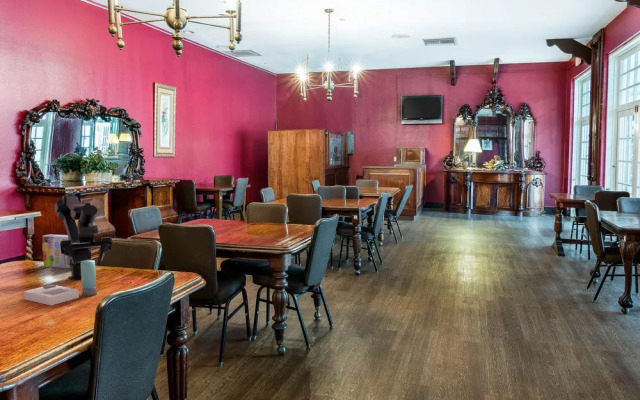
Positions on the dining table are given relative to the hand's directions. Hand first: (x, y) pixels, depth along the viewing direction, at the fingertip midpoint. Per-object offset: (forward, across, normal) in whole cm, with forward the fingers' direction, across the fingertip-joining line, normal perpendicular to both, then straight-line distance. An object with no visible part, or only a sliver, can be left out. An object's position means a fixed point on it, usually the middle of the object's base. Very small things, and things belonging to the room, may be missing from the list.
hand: (87, 262), depth 199 cm
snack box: (-29, -9, +45) cm, 54 cm away
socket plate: (+11, -13, +5) cm, 18 cm away
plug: (+12, 0, +5) cm, 12 cm away
